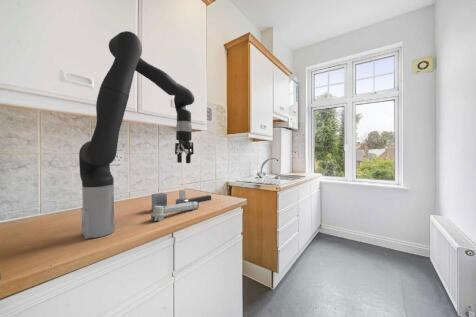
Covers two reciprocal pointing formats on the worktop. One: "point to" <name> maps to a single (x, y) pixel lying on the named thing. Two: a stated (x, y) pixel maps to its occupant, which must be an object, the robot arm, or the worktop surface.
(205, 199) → the ratchet
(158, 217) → the grey cylindrical tool
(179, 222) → the worktop surface
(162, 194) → the socket
